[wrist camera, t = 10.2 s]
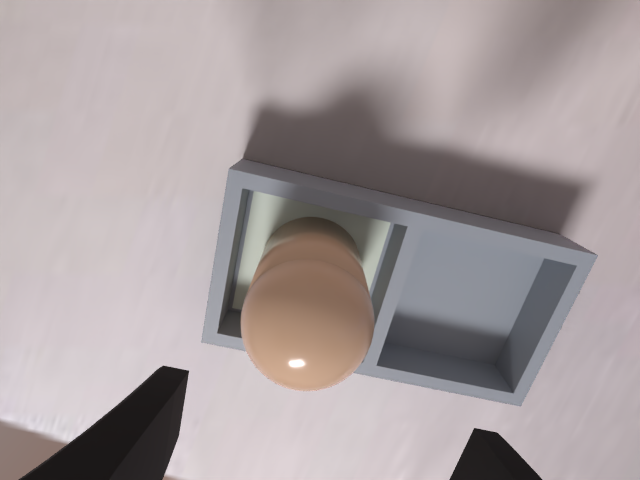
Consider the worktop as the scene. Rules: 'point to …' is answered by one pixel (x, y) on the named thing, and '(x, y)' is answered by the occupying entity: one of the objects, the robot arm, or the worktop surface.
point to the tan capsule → (308, 307)
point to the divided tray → (412, 280)
